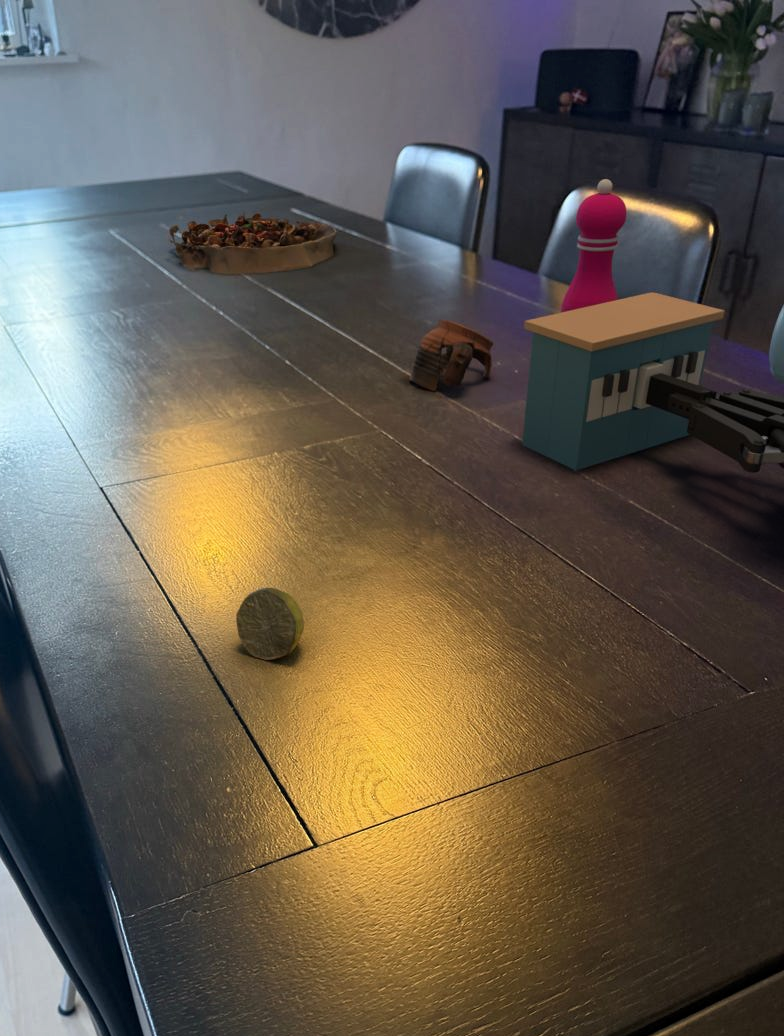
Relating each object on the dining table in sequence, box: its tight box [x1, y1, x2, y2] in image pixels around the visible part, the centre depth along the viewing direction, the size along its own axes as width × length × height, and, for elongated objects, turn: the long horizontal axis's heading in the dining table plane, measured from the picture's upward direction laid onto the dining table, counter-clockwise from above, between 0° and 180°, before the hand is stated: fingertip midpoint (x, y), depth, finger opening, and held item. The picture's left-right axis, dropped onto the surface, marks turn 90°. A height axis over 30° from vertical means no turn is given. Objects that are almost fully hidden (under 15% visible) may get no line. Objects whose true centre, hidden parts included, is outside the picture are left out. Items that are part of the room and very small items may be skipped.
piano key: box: [633, 361, 663, 409], centre depth 91 cm, size 4×2×4 cm, turn 30°
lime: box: [235, 587, 305, 661], centre depth 66 cm, size 4×5×5 cm
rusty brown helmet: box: [409, 319, 494, 392], centre depth 112 cm, size 12×10×8 cm
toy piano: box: [521, 291, 725, 471], centre depth 94 cm, size 9×17×13 cm, turn 120°
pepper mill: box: [560, 178, 627, 313], centre depth 119 cm, size 7×7×20 cm
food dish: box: [165, 212, 338, 275], centre depth 179 cm, size 35×33×8 cm
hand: (653, 388), depth 90 cm, fingers closed
